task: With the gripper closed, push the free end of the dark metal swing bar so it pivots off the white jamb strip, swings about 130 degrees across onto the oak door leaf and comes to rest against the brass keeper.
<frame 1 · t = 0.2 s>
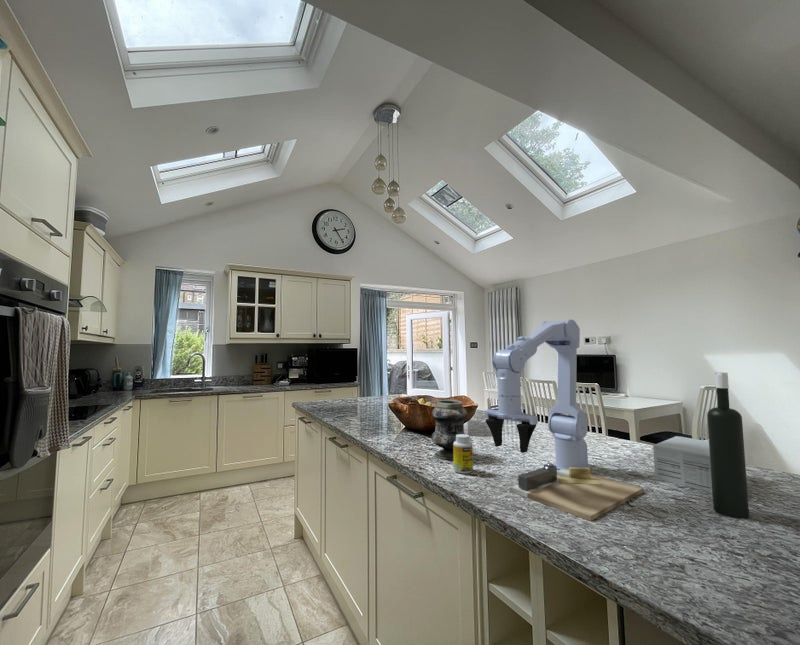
hand: (510, 448, 96), 10 cm above the worktop, fingers open, 7 cm apart
door board: (576, 491, 92), on the worktop
supplement box: (694, 479, 101), on the worktop
swing bar: (538, 475, 95), point 3 cm above the worktop, hinge at 0.0°
wine bottle: (730, 513, 80), on the worktop
dark grey vase: (449, 456, 124), on the worktop
supplement bottle: (463, 471, 108), on the worktop
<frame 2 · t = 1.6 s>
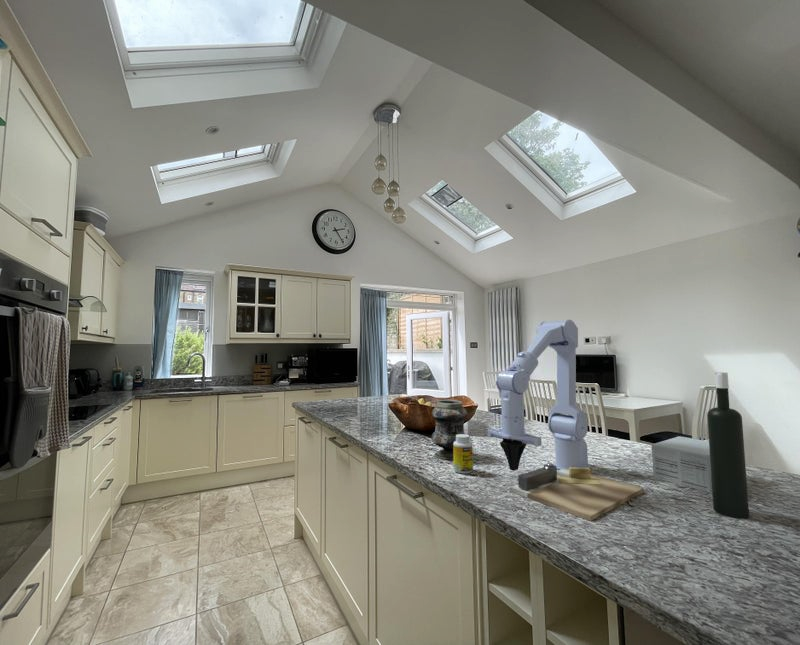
hand: (514, 469, 97), 4 cm above the worktop, fingers closed
nothing on the worktop moved.
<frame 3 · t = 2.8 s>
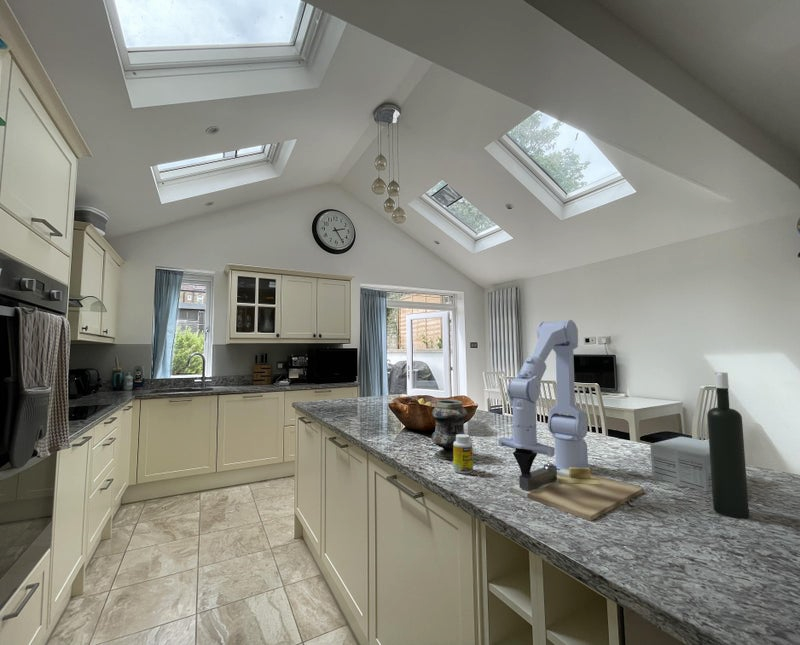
hand: (526, 479, 94), 2 cm above the worktop, fingers closed, pressing on swing bar
swing bar: (539, 475, 94), point 3 cm above the worktop, hinge at 1.6°, touching gripper
everything else where it was.
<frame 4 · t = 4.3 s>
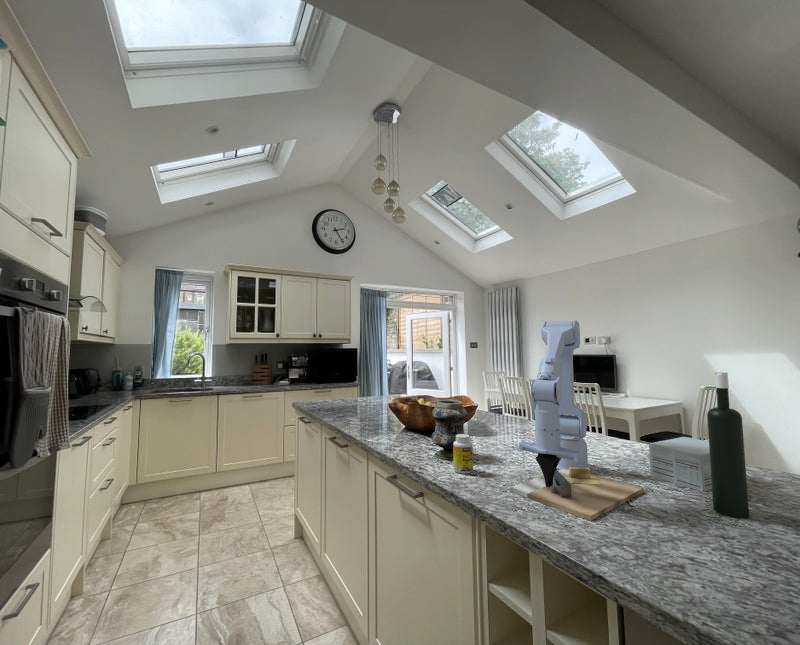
hand: (549, 485, 90), 2 cm above the worktop, fingers closed, pressing on swing bar
swing bar: (556, 477, 93), point 3 cm above the worktop, hinge at 47.9°, touching gripper
everything else where it was.
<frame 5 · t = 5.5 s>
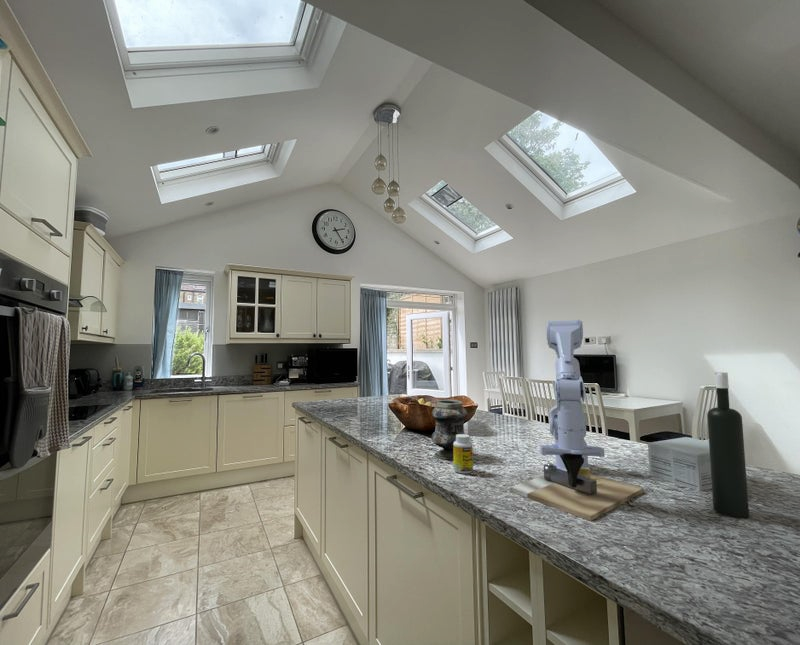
hand: (572, 486, 89), 2 cm above the worktop, fingers closed, pressing on swing bar
swing bar: (567, 476, 93), point 3 cm above the worktop, hinge at 84.1°, touching gripper
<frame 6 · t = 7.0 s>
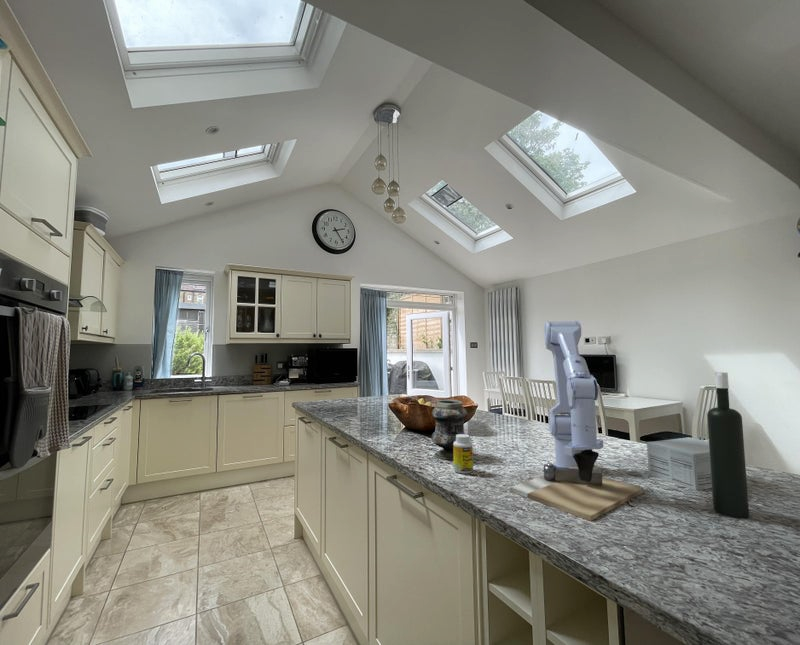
hand: (585, 480, 93), 2 cm above the worktop, fingers closed, pressing on swing bar
swing bar: (571, 473, 96), point 3 cm above the worktop, hinge at 126.1°, touching gripper
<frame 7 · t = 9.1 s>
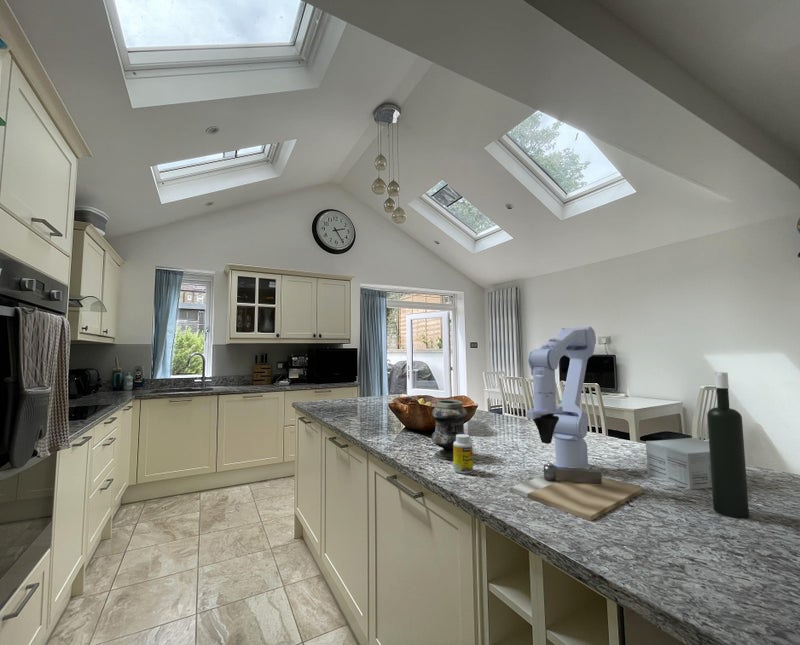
hand: (546, 442, 101), 10 cm above the worktop, fingers closed
swing bar: (571, 472, 96), point 3 cm above the worktop, hinge at 130.7°
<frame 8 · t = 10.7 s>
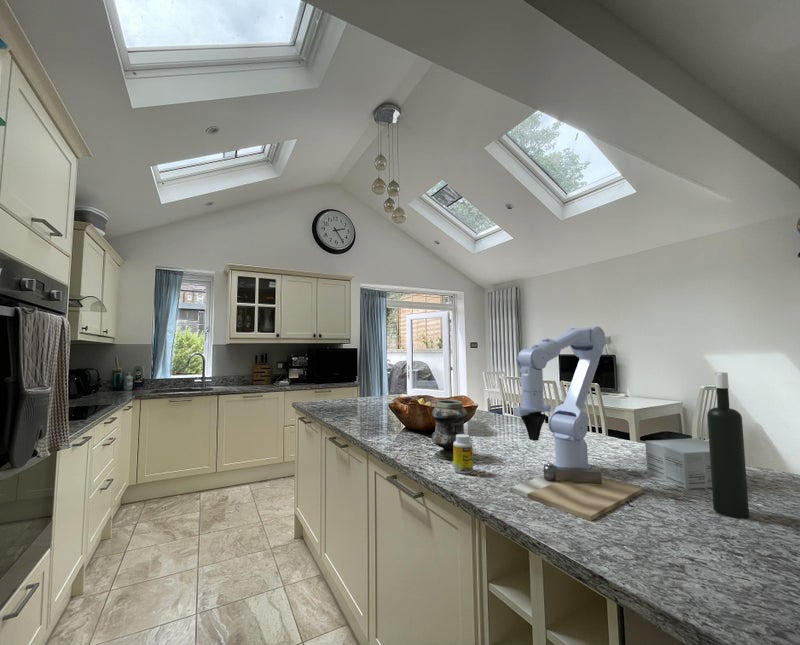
hand: (533, 439, 104), 10 cm above the worktop, fingers closed
at the end: swing bar at +131° (first picture: +0°); the gripper is holding nothing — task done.
